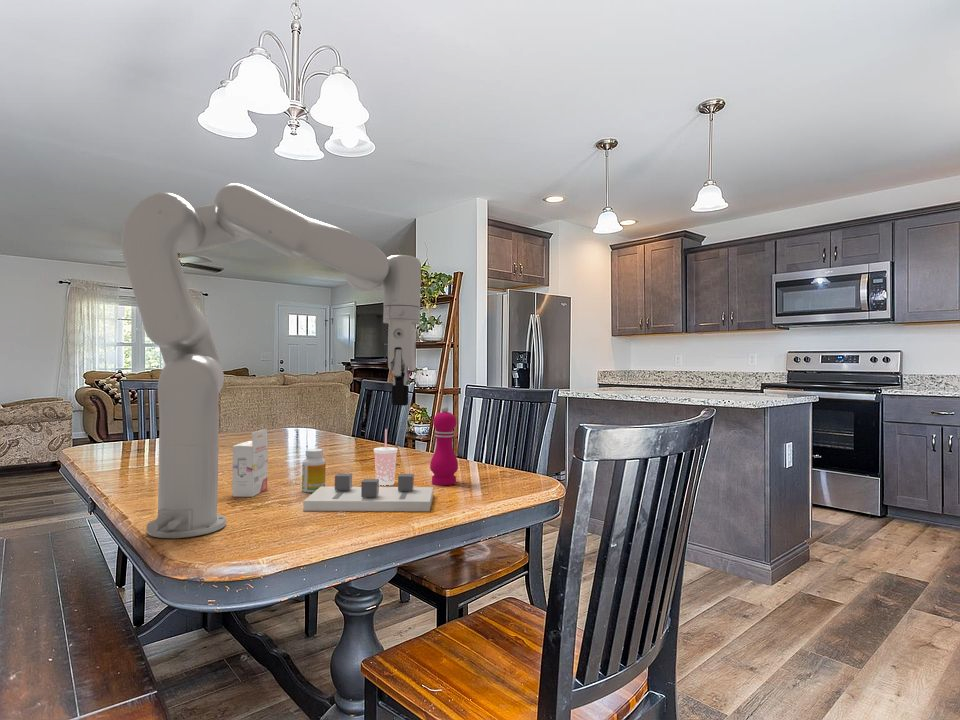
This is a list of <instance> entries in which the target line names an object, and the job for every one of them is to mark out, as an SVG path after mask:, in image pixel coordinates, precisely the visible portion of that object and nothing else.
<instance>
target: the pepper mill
mask: <svg viewBox="0 0 960 720" xmlns="http://www.w3.org/2000/svg"><path fill="white" fill-rule="evenodd" d="M432 424H433V427H434V428H435V431H434V437H436V446H435V450H434V453H433V455H432V457H431V461H430V465H429V469H430V471H431V472H432V474H433V475H432V476H431V484H432V485H434V484H435V485H434V486H439V485H449V486H453V485H452V484H454V485H456V484H455V483H457V476H456V475H455V473H456V472H458V469H459V462H458V459H457V457H456V454H455V452H454V446H453V438H454V437H455V431H454V429H455V428H456V426H457V418H456V416H455V414H453V413H451V412H449V407H448V405H447V406H446V405H443V406H442V407H441V412H438V413H437V414H435V415H434V417H433V421H432Z"/></svg>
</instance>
